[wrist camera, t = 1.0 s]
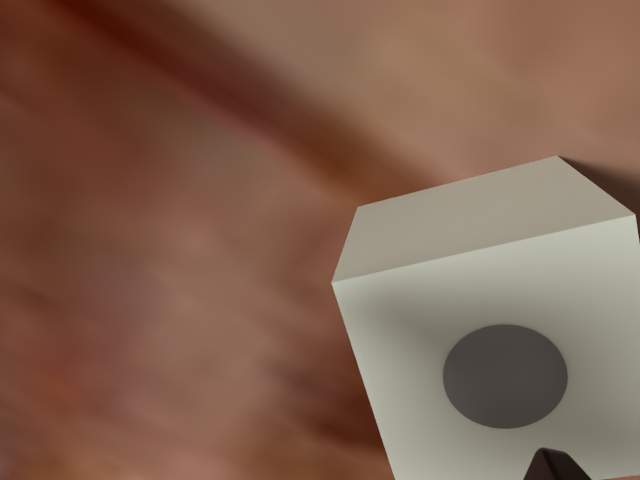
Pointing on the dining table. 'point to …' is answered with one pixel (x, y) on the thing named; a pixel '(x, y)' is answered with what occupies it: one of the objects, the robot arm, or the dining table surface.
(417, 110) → the dining table surface
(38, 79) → the dining table surface
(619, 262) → the sage block
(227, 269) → the dining table surface
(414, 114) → the dining table surface
